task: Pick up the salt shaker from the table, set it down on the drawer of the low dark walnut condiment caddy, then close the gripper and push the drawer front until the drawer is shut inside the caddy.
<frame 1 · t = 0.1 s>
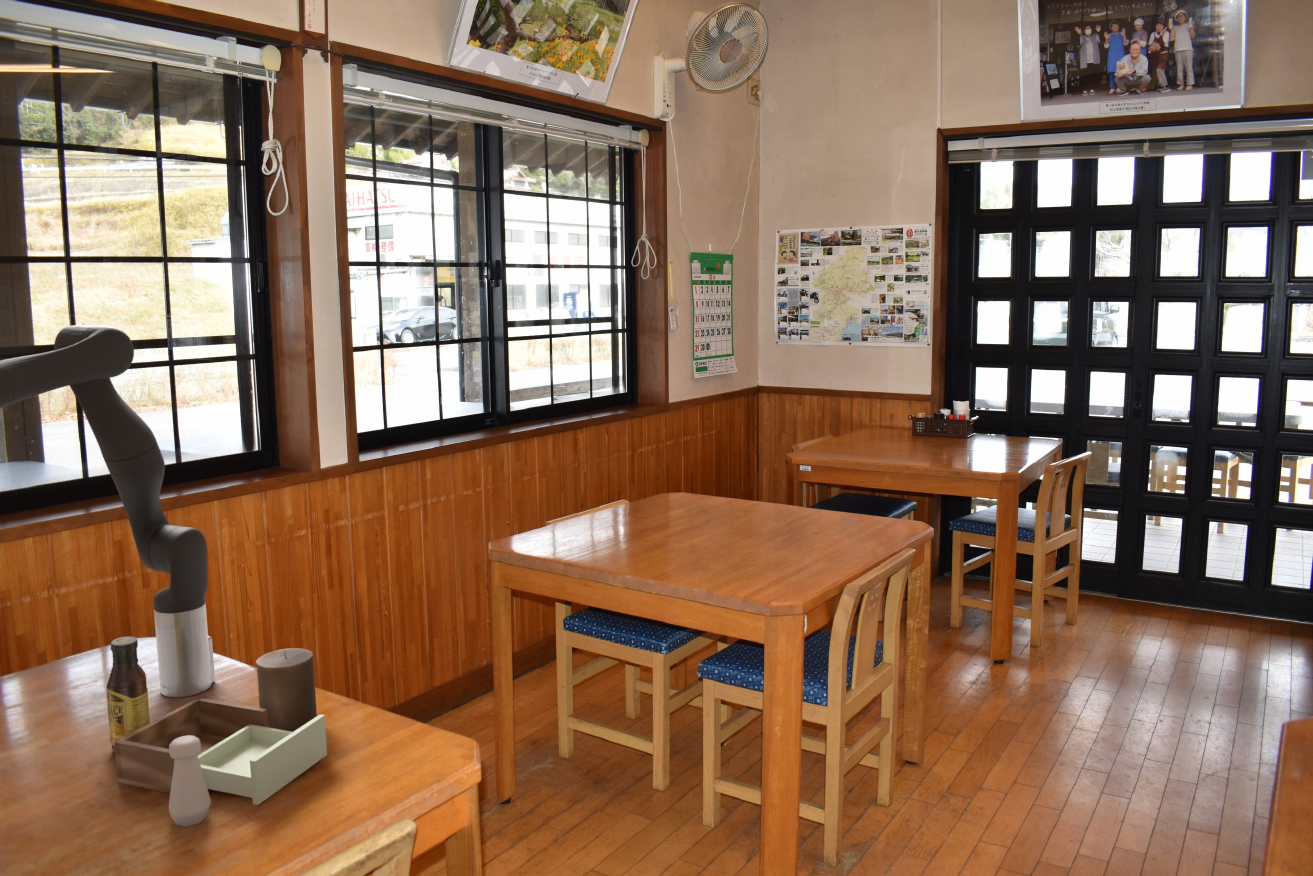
salt shaker: (191, 820, 149), on the table
drawer: (255, 750, 161), point 4 cm above the table, slide at 11.0 cm
sauce bottle: (132, 749, 171), on the table
pillar candle: (289, 729, 179), on the table
cabinet: (196, 764, 166), on the table
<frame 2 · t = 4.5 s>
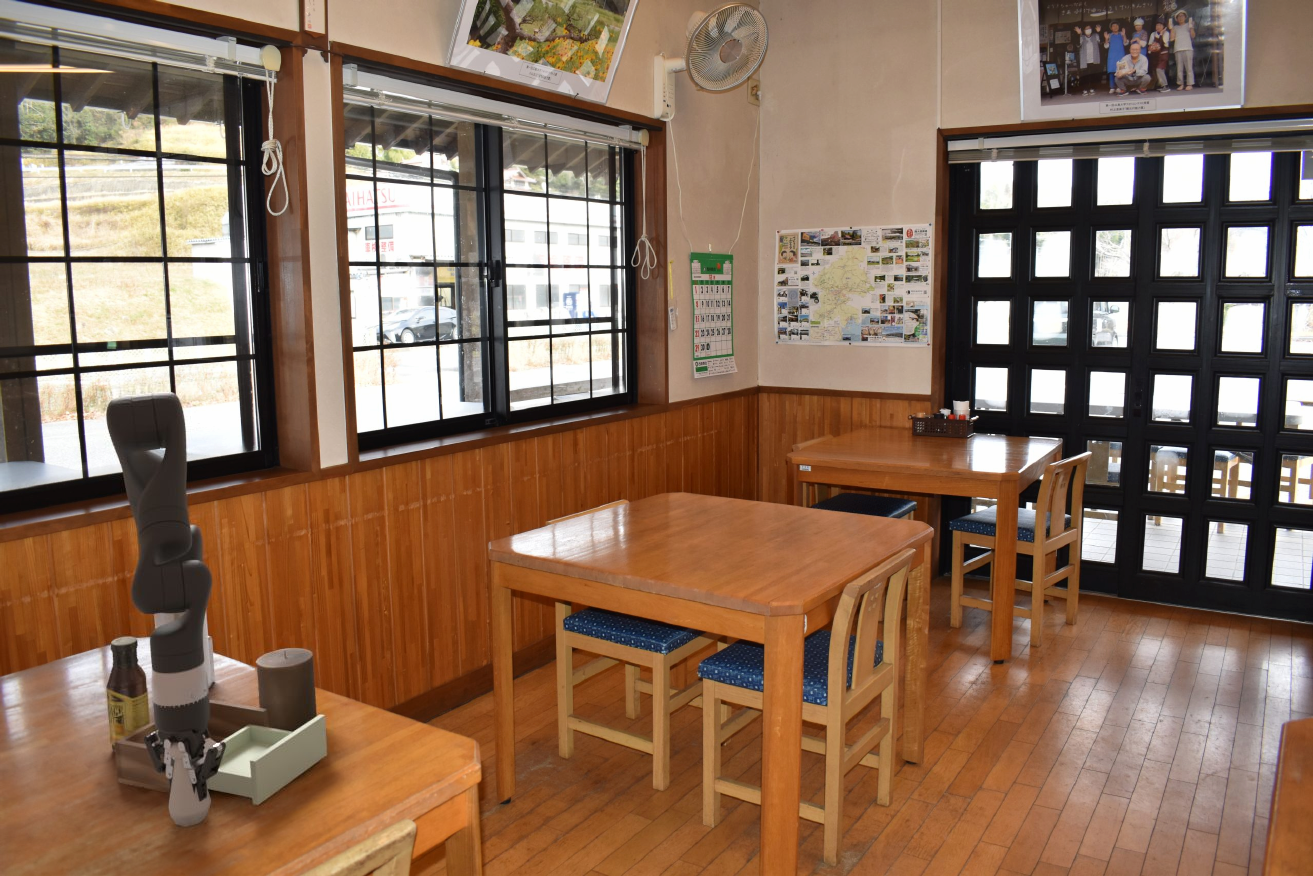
hand: (189, 800, 148), 3 cm above the table, tool pointing down, fingers closed on salt shaker, 3 cm apart
salt shaker: (191, 820, 149), on the table, touching gripper
everything else where it was.
when the fingers open (7 cm above the table, at t = 9.0 s): salt shaker drops 1 cm, resting on drawer.
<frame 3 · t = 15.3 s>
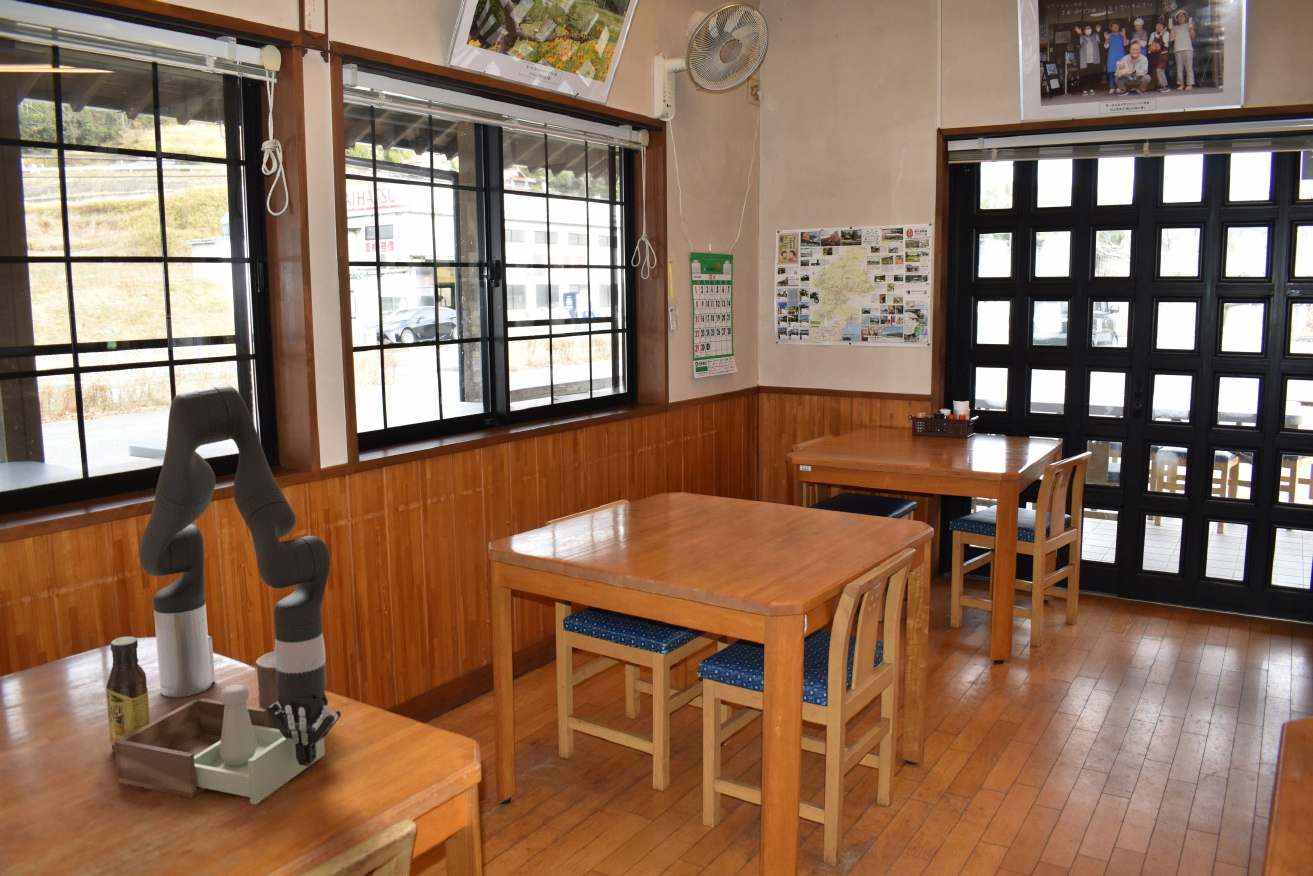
hand: (306, 763, 158), 4 cm above the table, tool pointing down, fingers closed
salt shaker: (239, 763, 163), point 2 cm above the table, touching drawer
drawer: (252, 750, 161), point 4 cm above the table, slide at 10.6 cm, touching gripper, salt shaker
everything else where it was.
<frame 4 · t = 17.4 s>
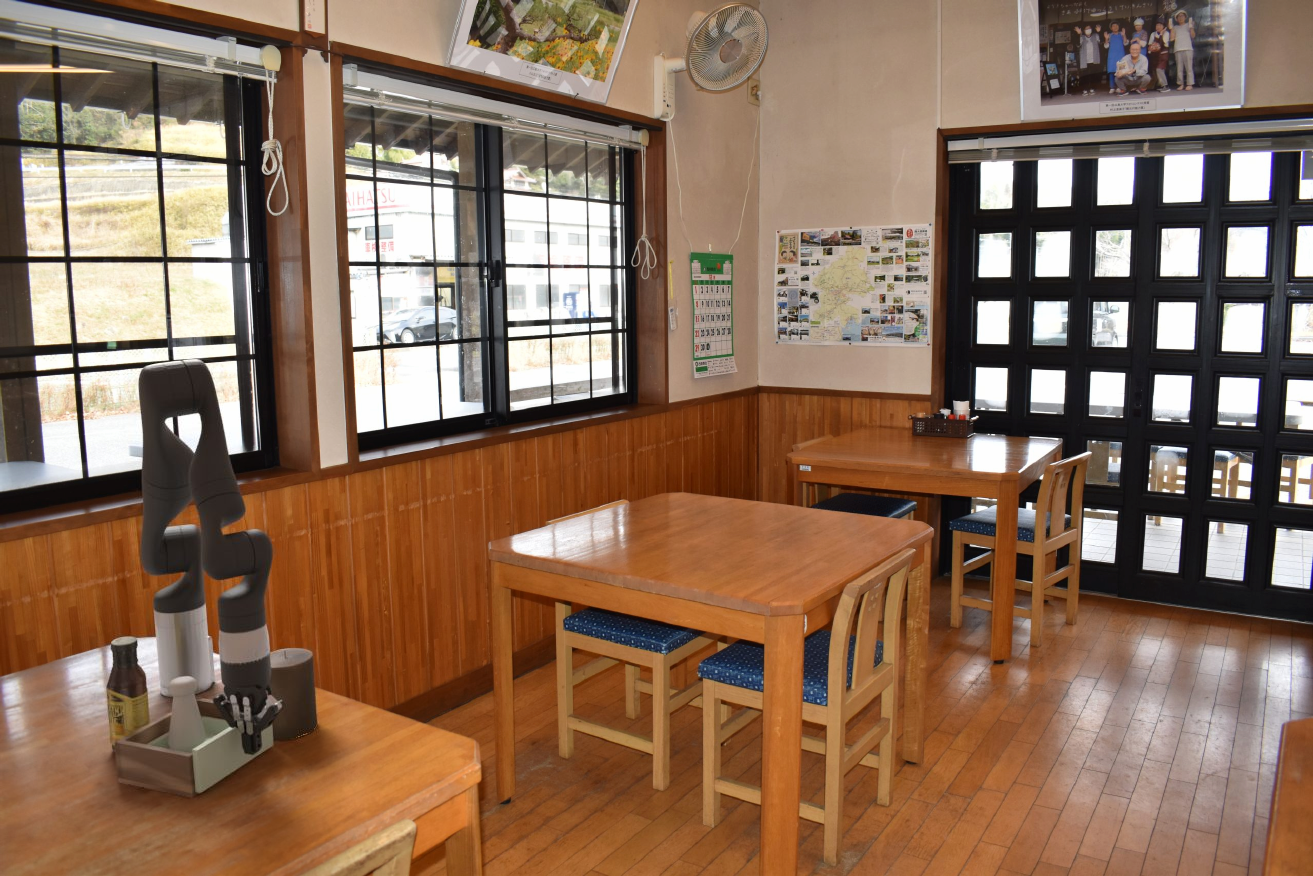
hand: (252, 752, 162), 4 cm above the table, tool pointing down, fingers closed
salt shaker: (188, 753, 166), point 2 cm above the table, touching drawer
drawer: (200, 740, 165), point 4 cm above the table, slide at 0.0 cm, touching gripper, salt shaker
everything else where it was.
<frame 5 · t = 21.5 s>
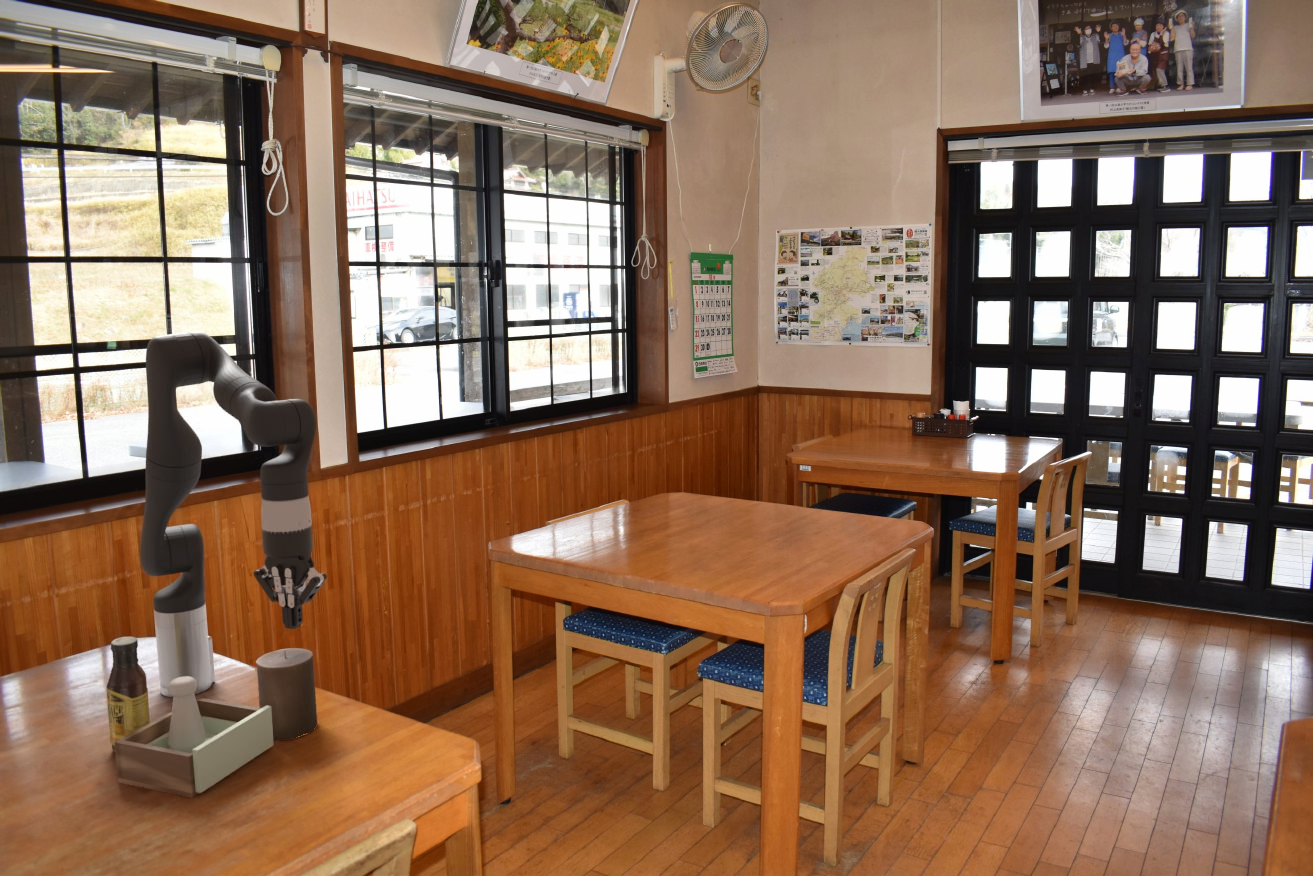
hand: (293, 627, 160), 25 cm above the table, tool pointing down, fingers closed
drawer: (201, 740, 165), point 4 cm above the table, slide at 0.0 cm, touching salt shaker
everything else where it was.
at the end: drawer slide at 0.0 cm; salt shaker inside the target area on the cabinet (1.9 cm from its centre), point 1.7 cm above the cabinet's base; salt shaker tilted 0° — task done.
